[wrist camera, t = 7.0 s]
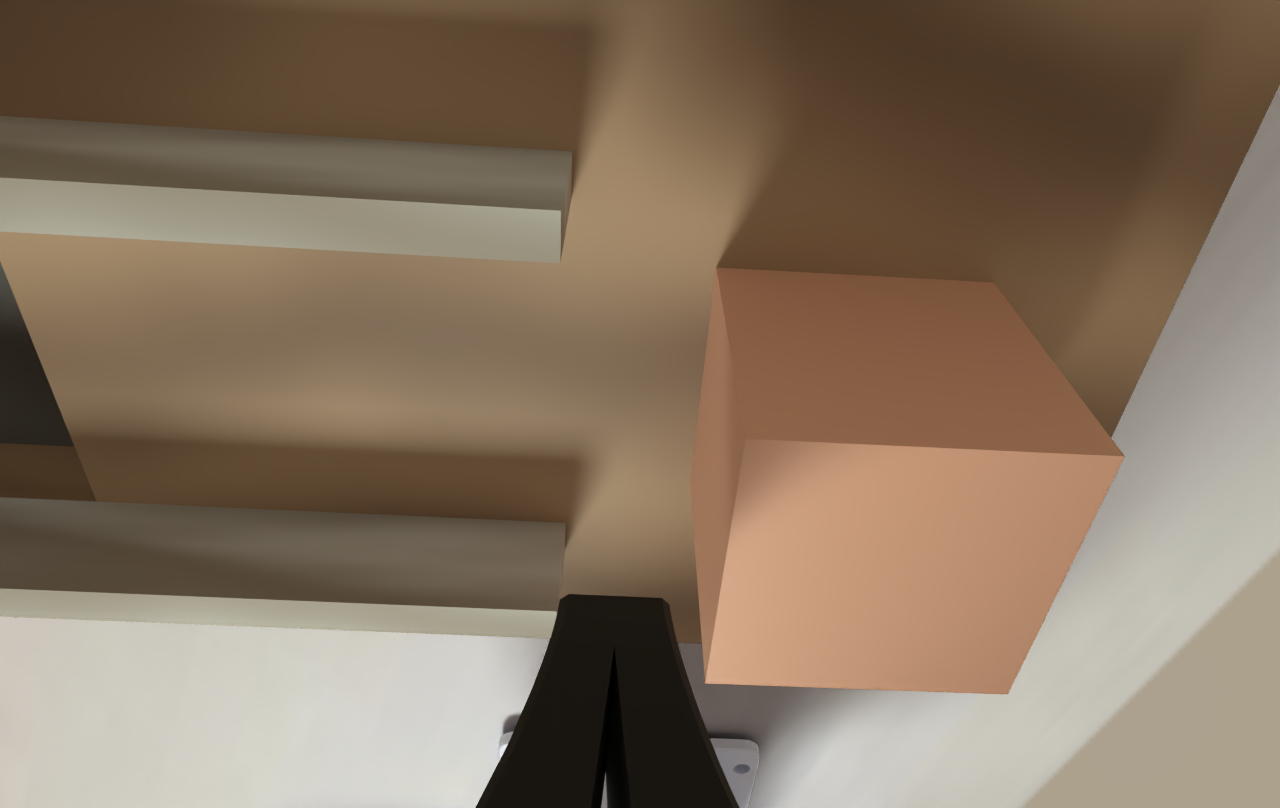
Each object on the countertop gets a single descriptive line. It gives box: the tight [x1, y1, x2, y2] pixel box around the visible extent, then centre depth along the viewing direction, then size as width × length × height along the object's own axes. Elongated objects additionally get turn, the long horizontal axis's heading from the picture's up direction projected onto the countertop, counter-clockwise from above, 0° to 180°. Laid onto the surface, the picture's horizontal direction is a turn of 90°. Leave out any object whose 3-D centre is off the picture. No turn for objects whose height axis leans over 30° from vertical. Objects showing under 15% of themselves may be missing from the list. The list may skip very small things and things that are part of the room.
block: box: [690, 268, 1125, 694], centre depth 15 cm, size 5×5×5 cm
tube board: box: [0, 0, 1280, 644], centre depth 16 cm, size 15×30×4 cm, turn 86°
